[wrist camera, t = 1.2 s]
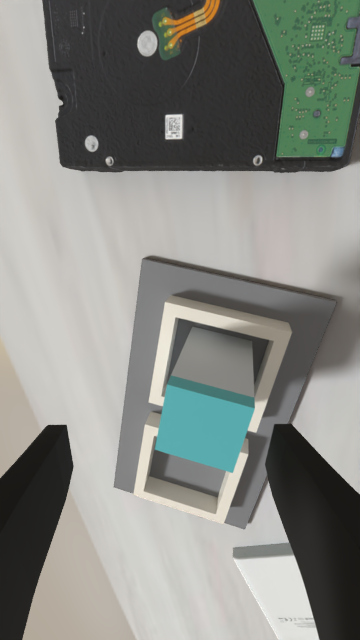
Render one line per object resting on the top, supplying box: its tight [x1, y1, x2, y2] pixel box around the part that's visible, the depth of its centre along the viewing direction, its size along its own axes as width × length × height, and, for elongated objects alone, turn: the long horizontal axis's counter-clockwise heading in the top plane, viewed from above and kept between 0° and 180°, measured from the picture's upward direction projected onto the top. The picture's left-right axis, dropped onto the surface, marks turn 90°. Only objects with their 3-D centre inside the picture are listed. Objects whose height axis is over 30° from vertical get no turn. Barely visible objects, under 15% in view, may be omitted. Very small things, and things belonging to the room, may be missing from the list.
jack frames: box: [133, 295, 292, 524], centre depth 22 cm, size 17×8×2 cm, turn 169°
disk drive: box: [42, 0, 360, 173], centre depth 14 cm, size 10×3×15 cm
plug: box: [155, 327, 255, 473], centre depth 17 cm, size 4×4×7 cm
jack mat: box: [114, 258, 337, 529], centre depth 23 cm, size 21×12×1 cm, turn 169°
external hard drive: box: [233, 543, 319, 640], centre depth 28 cm, size 2×8×12 cm
